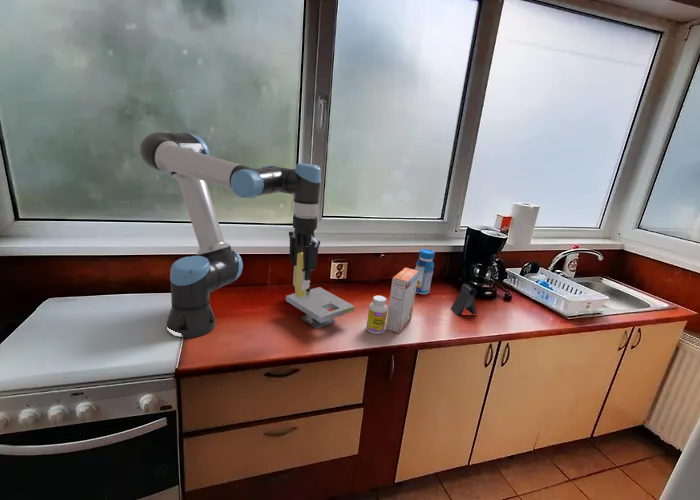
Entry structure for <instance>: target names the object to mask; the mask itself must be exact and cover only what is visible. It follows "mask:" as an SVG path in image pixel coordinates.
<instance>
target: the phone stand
mask: <svg viewBox="0 0 700 500" xmlns="http://www.w3.org/2000/svg"><path fill="white" fill-rule="evenodd" d="M475 294H476V290H475V289H474V288H473V287H471V286H470V285H469V284H468V283H463V284H462V285H461V289H460V291H459V293H458V295H457V296H456V297H455V298H456V299H455V300H454V302H453V304H452V306H451V307H450V309H452V310H451V311H453V312H454V314H456V316H458V315H462V312H463V310H464V308H466V309H467V310H469V311H470V312H471V313H472V314H477V315H478V313H477V306H476V299H475Z"/></svg>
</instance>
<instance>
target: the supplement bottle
mask: <svg viewBox="0 0 700 500" xmlns="http://www.w3.org/2000/svg"><path fill="white" fill-rule="evenodd" d="M386 303H387V298H386V297H385V296H383V295H374V296H373V297H372V302H371V303H370V304H369V307H368V312H367V321H366V330H367V331H368V333H371V334H373V335H381V334H383V333H384V332H385V330H386V323H387V315H388V308H389V306H388V305H387V304H386Z"/></svg>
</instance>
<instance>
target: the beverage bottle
mask: <svg viewBox="0 0 700 500" xmlns="http://www.w3.org/2000/svg"><path fill="white" fill-rule="evenodd" d="M435 255H436V254H435V251H434V250H431V249H428V248H422V249H420V250H419V254H418V257H419V258H418V259H417V261H416V263H415V265H416V266H415V268H414V270H417V271H419V273H418V279H417V286H416V292H415V294H418V293H419V294H420V295H427V294H429V293H430V291H431V283H432V279H433V274H434V268H435V263H434V261H433V260H434V259H435ZM419 294H418V295H419Z"/></svg>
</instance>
